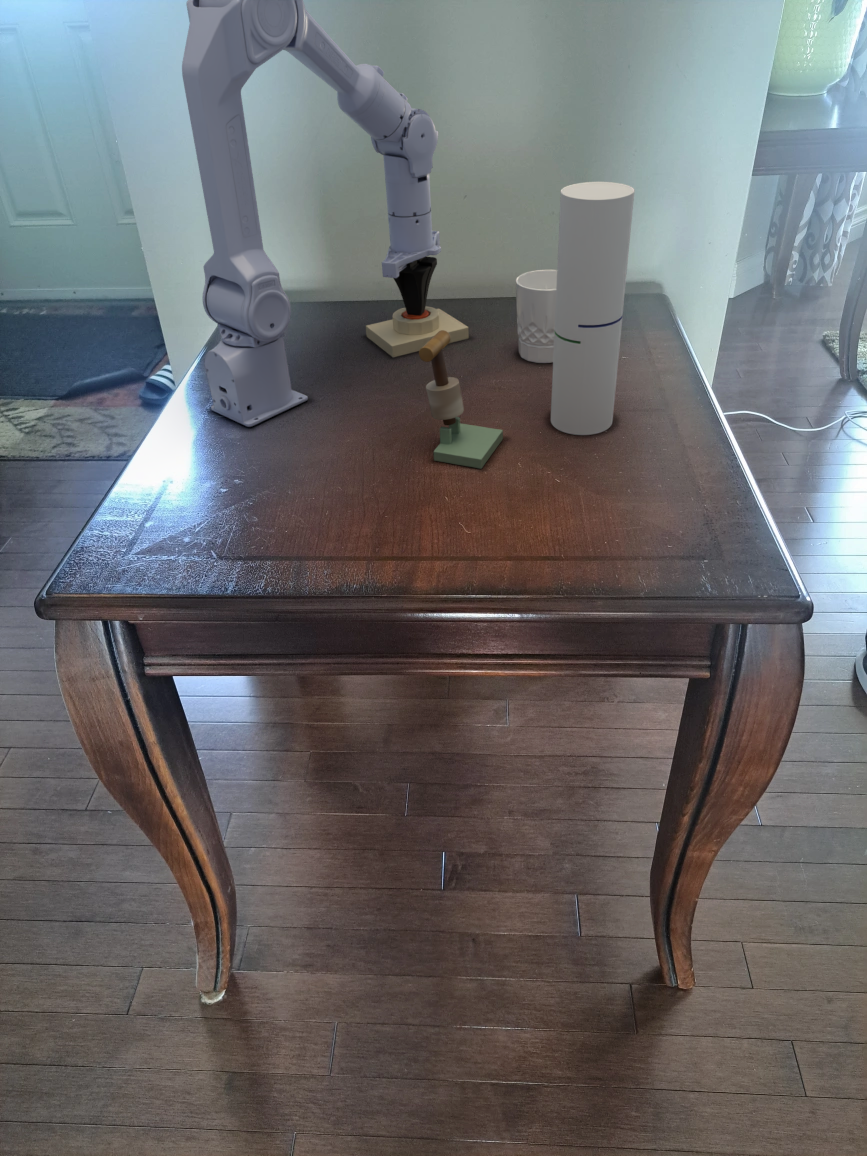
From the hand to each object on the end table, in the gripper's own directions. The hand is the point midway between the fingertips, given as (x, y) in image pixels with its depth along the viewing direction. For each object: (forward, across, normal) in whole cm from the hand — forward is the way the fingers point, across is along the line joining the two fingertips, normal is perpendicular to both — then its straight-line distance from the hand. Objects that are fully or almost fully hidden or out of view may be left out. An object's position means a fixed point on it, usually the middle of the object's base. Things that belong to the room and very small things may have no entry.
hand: (415, 313), depth 117 cm
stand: (+4, -28, -19) cm, 34 cm away
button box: (+4, 0, 0) cm, 4 cm away
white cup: (+4, 0, -19) cm, 19 cm away
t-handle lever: (-4, -28, -14) cm, 32 cm away
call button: (+2, 0, 0) cm, 2 cm away
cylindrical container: (+4, -18, -29) cm, 34 cm away
